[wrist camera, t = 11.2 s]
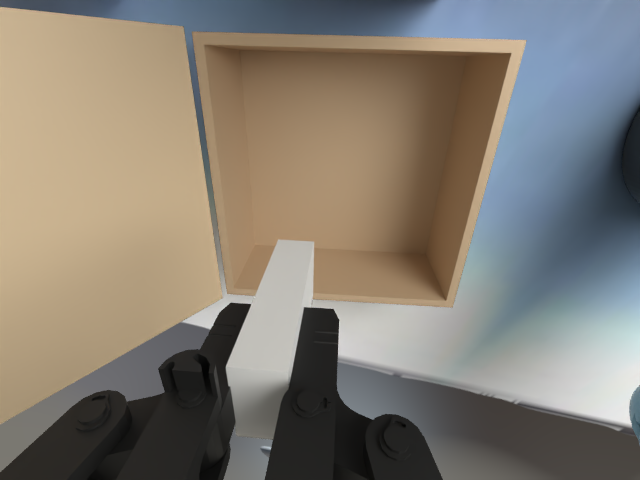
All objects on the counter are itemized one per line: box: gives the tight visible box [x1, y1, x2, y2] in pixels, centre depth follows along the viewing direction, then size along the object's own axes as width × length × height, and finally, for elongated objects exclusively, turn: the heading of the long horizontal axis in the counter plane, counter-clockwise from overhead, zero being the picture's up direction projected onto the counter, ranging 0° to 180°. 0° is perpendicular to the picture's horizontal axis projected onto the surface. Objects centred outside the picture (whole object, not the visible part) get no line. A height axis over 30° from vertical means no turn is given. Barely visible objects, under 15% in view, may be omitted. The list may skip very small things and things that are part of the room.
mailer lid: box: [0, 7, 223, 424], centre depth 16 cm, size 19×18×1 cm
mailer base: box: [192, 32, 527, 308], centre depth 25 cm, size 18×18×8 cm
